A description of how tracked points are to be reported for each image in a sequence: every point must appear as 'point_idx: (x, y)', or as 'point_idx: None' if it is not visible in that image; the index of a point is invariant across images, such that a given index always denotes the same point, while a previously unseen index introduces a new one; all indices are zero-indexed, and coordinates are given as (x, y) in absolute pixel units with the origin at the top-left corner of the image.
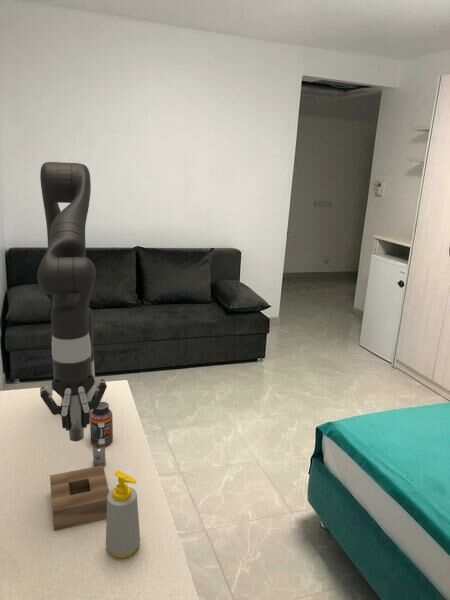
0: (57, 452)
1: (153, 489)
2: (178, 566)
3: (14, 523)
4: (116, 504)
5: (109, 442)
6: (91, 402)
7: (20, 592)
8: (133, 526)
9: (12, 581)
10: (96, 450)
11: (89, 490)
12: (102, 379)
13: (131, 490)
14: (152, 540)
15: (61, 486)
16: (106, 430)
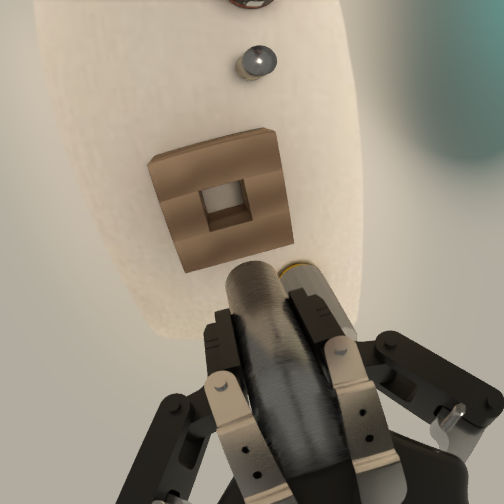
0: (143, 21)
1: (355, 162)
2: (355, 303)
3: (113, 234)
4: None
5: (271, 1)
6: (377, 375)
7: (173, 337)
8: None
9: (157, 325)
10: (254, 68)
11: (242, 184)
12: (498, 415)
13: (351, 336)
14: (336, 269)
15: (184, 204)
16: None
